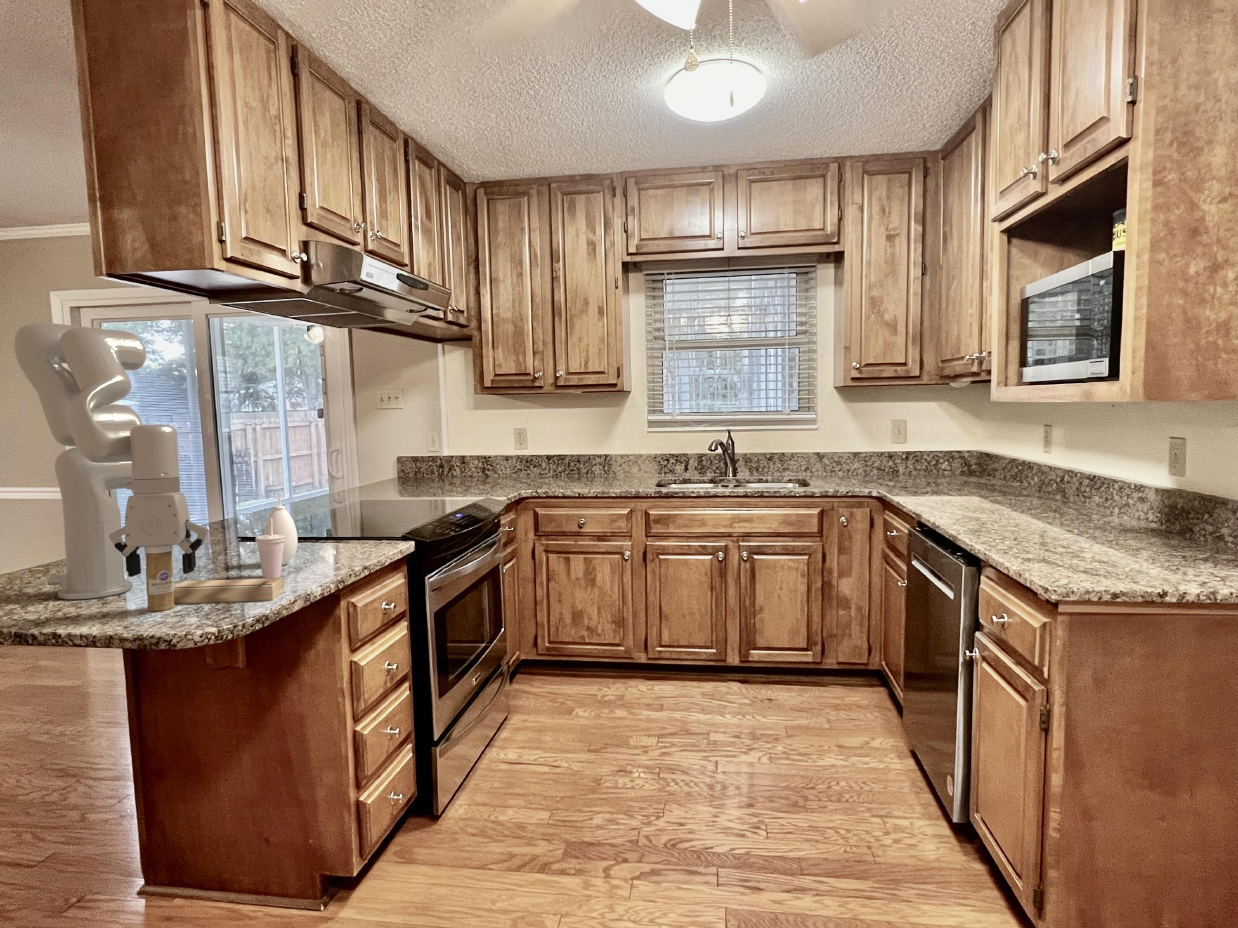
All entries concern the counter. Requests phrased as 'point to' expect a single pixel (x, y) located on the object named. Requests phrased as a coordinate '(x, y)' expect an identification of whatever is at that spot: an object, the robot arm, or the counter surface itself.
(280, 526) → the sauce bottle
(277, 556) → the smoothie
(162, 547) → the sprinkles bottle
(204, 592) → the maple board
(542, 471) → the counter surface
